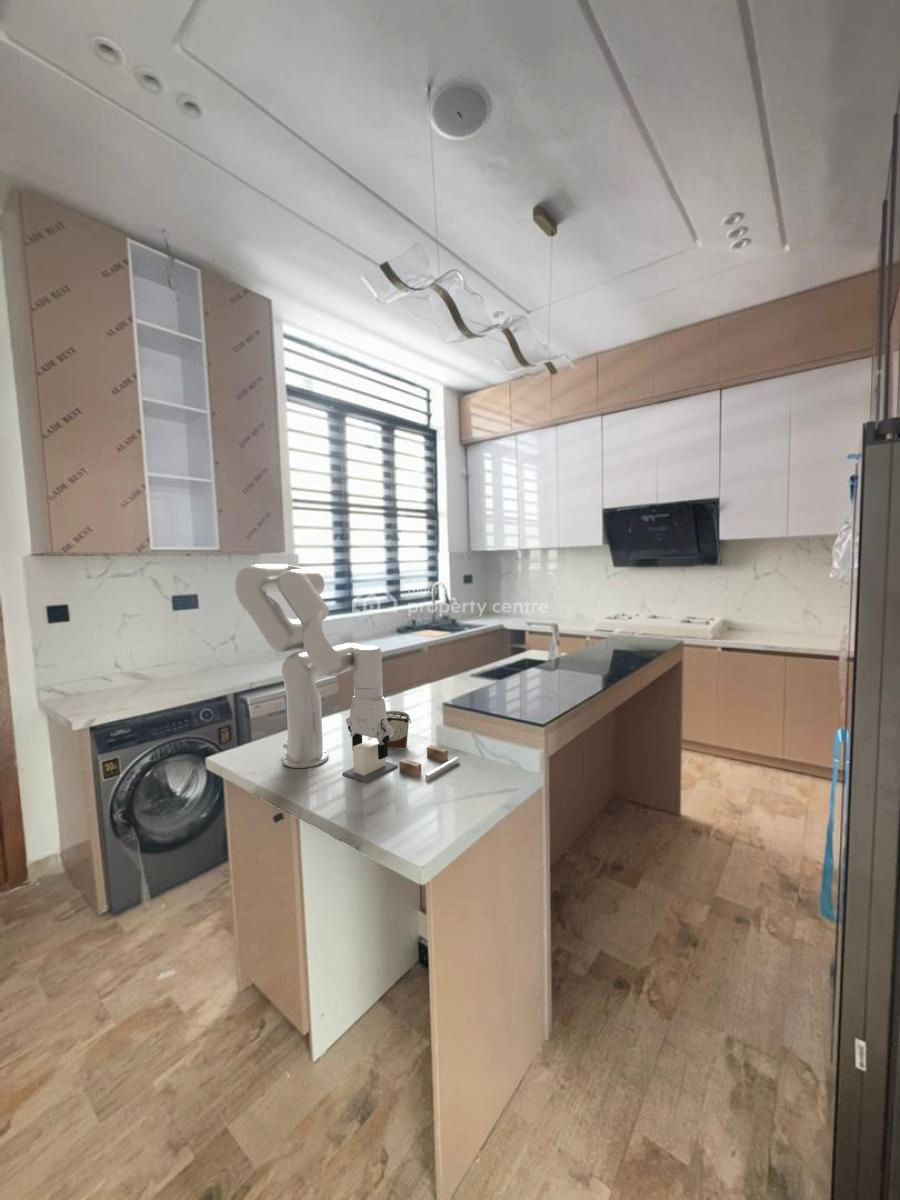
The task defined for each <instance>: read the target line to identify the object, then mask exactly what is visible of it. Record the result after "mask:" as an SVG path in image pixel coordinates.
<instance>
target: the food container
mask: <svg viewBox="0 0 900 1200" xmlns="http://www.w3.org/2000/svg"><path fill="white" fill-rule="evenodd" d="M386 714H387V723H388V724H389V725H390V726H391V727H393V728H394V730H395V731H394V734H393V736H392V739H391V740H390V742H388V749H390V748H391V749H392V748H406V747H407V748H408V736H409V735H408V734H409V725H410V724H411V723H412V721H411V718H410V715H409V714H408V713H407V712H404V711H398V710H389V711H388V710H386ZM386 734H387V732H386ZM374 738H376V737H374ZM381 738H382V739H383V736H382V735H381ZM407 748H406V749H407ZM392 750H393V749H392Z"/></svg>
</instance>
